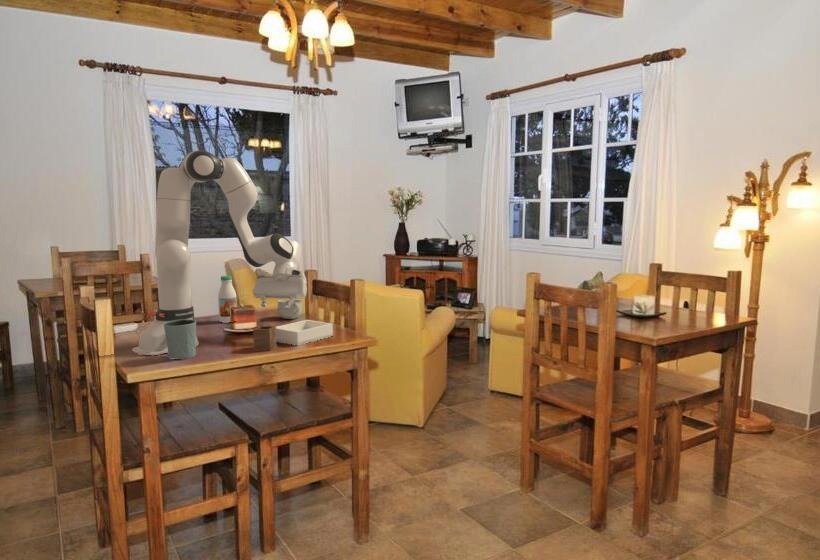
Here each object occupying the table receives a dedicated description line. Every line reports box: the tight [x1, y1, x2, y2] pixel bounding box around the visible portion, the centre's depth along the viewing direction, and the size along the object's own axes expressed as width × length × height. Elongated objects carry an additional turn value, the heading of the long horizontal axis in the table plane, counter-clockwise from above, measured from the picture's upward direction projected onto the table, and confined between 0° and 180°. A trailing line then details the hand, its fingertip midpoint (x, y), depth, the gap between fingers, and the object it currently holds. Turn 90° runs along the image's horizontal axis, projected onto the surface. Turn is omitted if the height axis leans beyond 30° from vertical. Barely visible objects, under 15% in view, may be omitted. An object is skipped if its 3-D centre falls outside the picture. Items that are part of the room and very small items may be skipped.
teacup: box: [277, 299, 303, 320], centre depth 265 cm, size 14×11×8 cm
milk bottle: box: [217, 275, 238, 324], centre depth 259 cm, size 8×8×20 cm
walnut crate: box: [252, 325, 278, 351], centre depth 212 cm, size 6×6×8 cm
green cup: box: [164, 319, 197, 359], centre depth 201 cm, size 10×10×12 cm
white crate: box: [276, 319, 334, 347], centre depth 226 cm, size 18×14×5 cm
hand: (275, 306), depth 221 cm, fingers open, 8 cm apart
